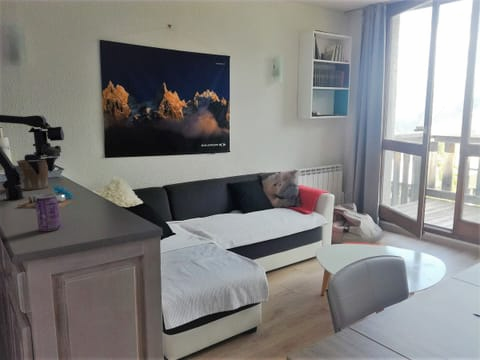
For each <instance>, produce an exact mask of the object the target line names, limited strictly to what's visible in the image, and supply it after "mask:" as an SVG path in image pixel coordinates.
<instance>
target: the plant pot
mask: <svg viewBox="0 0 480 360" xmlns="http://www.w3.org/2000/svg"><path fill="white" fill-rule="evenodd" d="M45 158H46V157H43V158H41V159H40V160H41V162H40V163H39V167H40V174H39V175H37V173H36V172H35V171H34V169H33V168H32V166H31V165H30V164H29V163H28V162H27V161H25V159H20V160H17V161H16V163H17V165H18V166H20V168H21V170H22V171H23V172H24V173H23V174H24V176H25V177H24V180H23V181H22V184H23V189H24V190H26V191H31V190H33V191H34V190H37V191H38V190H43V189H47V188H49V168H48V165H47V163H46V160H45ZM18 166H17V167H18Z"/></svg>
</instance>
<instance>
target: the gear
mask: <svg viewBox="0 0 480 360" xmlns="http://www.w3.org/2000/svg"><path fill="white" fill-rule="evenodd" d="M52 188H53V191H54V192H55V193H54V194H65V198H66V199H73V198H74V195H73V194H72V193H71V192H70V193H69V190H65V188H63V187H61V186H60V185H54V186H52Z"/></svg>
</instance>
